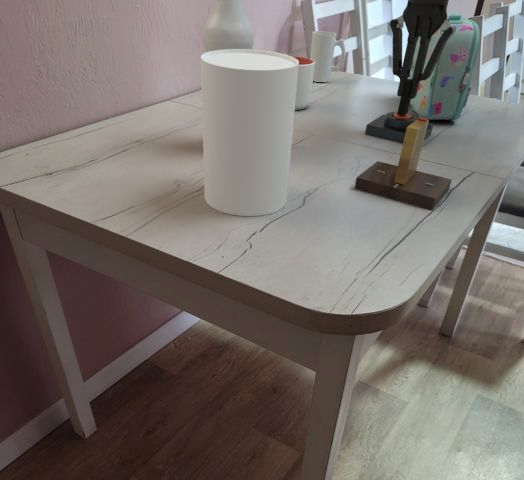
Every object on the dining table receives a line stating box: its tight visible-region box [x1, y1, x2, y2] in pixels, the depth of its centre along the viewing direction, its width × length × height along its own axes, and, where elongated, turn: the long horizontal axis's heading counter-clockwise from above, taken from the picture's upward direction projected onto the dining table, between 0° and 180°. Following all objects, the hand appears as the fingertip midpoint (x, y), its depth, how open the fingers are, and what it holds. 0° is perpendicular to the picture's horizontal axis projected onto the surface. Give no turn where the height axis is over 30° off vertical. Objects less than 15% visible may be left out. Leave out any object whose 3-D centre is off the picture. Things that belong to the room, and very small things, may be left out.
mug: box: [309, 30, 346, 83], centre depth 140 cm, size 10×7×12 cm, turn 77°
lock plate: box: [354, 160, 453, 211], centre depth 85 cm, size 14×10×2 cm
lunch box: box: [408, 12, 481, 122], centre depth 118 cm, size 27×10×21 cm, turn 179°
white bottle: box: [202, 0, 255, 53], centre depth 89 cm, size 9×9×28 cm
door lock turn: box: [394, 116, 430, 185], centre depth 82 cm, size 6×2×9 cm, turn 149°
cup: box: [290, 55, 315, 111], centre depth 120 cm, size 10×10×10 cm
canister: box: [200, 49, 299, 217], centre depth 74 cm, size 14×14×20 cm
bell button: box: [393, 113, 412, 120], centre depth 107 cm, size 4×4×2 cm
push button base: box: [364, 111, 434, 145], centre depth 108 cm, size 12×10×4 cm
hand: (402, 113), depth 106 cm, fingers closed
